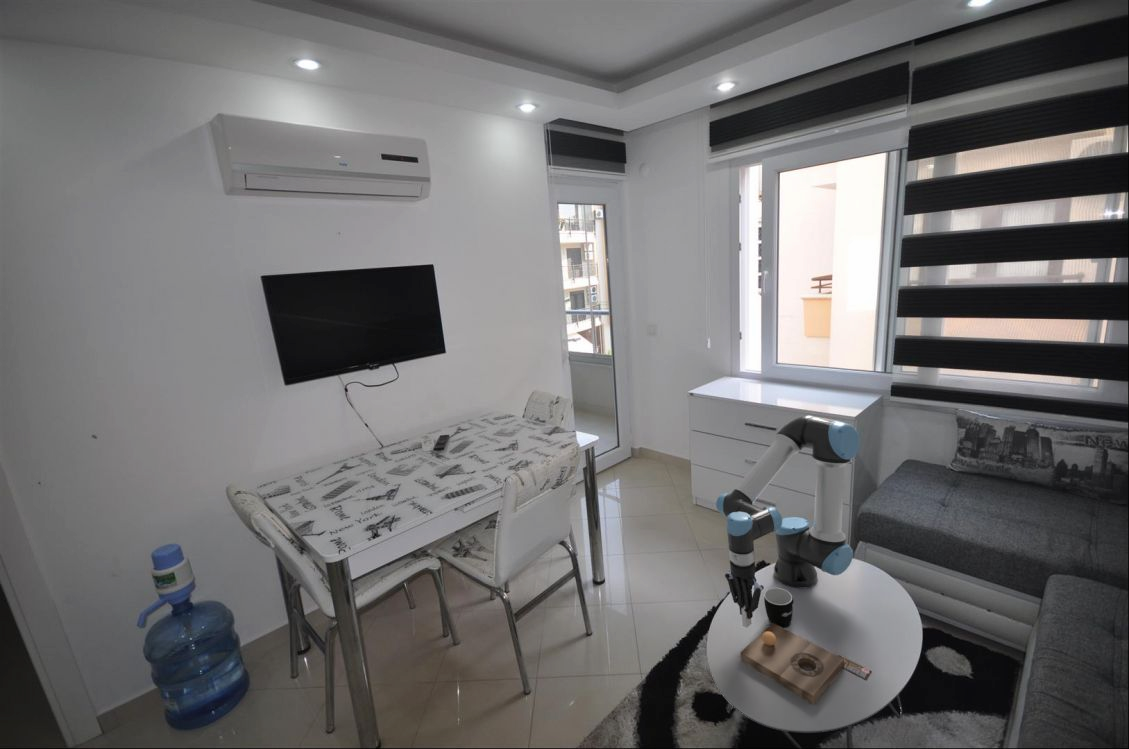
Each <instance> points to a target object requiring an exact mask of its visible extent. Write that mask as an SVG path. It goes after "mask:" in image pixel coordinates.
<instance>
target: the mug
mask: <svg viewBox="0 0 1129 749" xmlns="http://www.w3.org/2000/svg"><path fill="white" fill-rule="evenodd" d="M763 593H764V594H763V601H764V602H763V603H764V608H765V612H766V615H767V619H768V622H769V623H770V624H771V623H774V624H776V625H778V626H780V627H782V628H784V629H786V628H788V627H789V626H790V625H791V624H792V620H793V614H794V613H793V612H794V611H793V610H794V609H793V608H794V602H795V600H794V596H793V595H792V594H791V592H789V591H788V590H787V589H784V588H781V587H771V588H768V589H766V590H765V591H764V592H763Z"/></svg>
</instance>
